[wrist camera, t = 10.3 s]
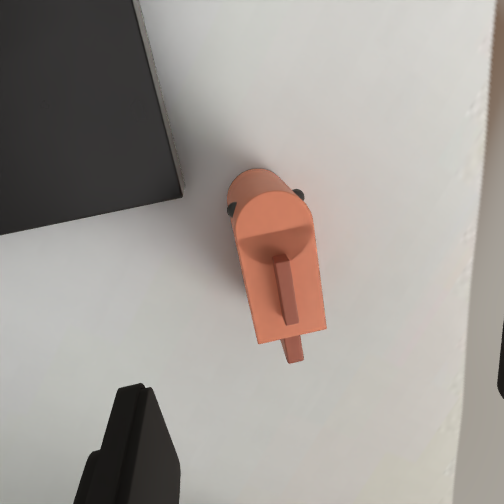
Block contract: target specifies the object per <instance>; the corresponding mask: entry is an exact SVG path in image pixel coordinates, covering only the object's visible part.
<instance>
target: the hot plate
mask: <svg viewBox="0 0 504 504" xmlns="http://www.w3.org/2000/svg"><path fill="white" fill-rule="evenodd" d="M184 189H185V182H184V178H183V174H182V170H181V166H180V162H179V158H178V154H177V150H176V146H175V142H174V138H173V134H172V130H171V127H170V123H169V119H168V115H167V111H166V107H165V103H164V99H163V95H162V91H161V87H160V83H159V79H158V75H157V71H156V67H155V63H154V59H153V55H152V51H151V47H150V43H149V39H148V35H147V31H146V27H145V23H144V19H143V15H142V11H141V8H140V4H139V0H0V235H4V234H9V233H14V232H19V231H24V230H28V229H33V228H38V227H43V226H48V225H53V224H57V223H62V222H67V221H72V220H77V219H81V218H86V217H91V216H96V215H101V214H105V213H110V212H115V211H120V210H125V209H129V208H134V207H139V206H144V205H149V204H153V203H158V202H163V201H168V200H173V199H178V198H182V197H183V194H184Z"/></svg>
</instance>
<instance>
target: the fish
mask: <svg viewBox="0 0 504 504" xmlns="http://www.w3.org/2000/svg"><path fill="white" fill-rule="evenodd" d="M227 204H228V208H227V213H228V215H229V216H230V219H231V223H232V228H233V233H234V237H235V242H236V247H237V251H238V256H239V261H240V265H241V270H242V275H243V279H244V284H245V289H246V293H247V298H248V302H249V306H250V311H251V315H252V320H253V324H254V328H255V333H256V337H257V341H258V344H262V343H267V342H271V341H276V340H281V343H282V347H283V350H284V353H285V356H286V359H287V362H288V363H289V364H290V363H295V362H299V361H303V360H304V356H303V350H302V344H301V337H300V335H302V334H306V333H311V332H315V331H320V330H324V329H326V328H327V327H326V319H325V311H324V303H323V295H322V287H321V279H320V272H319V264H318V256H317V248H316V240H315V232H314V224H313V218H312V215H311V212H310V210H309V208H308V206H307V205H306V204H305V203H304V194H303V192H302V191H301V190H299V189H294V190H291V189H290V188H289V187H288V186H287V185H286V184H285V183H284V182H283V181H282V180H281V179H280V178H279V177H278V176H277V175H276V174H274V173H273V172H271V171H268V170H265V169H251V170H247V171H245V172H243V173H241V174H240V175H239V176H237V177H236V178H235V179H234V181H233V182H232V184H231V185H230V188H229V190H228V194H227Z"/></svg>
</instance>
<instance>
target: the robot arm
mask: <svg viewBox="0 0 504 504" xmlns="http://www.w3.org/2000/svg"><path fill="white" fill-rule="evenodd" d="M497 387H498V390H499V392H500V394H501V396H502V397H503V399H504V323H503V332H502V343H501V352H500V363H499V372H498V382H497ZM180 476H181V472H180V463H179V459H178V456H177V453H176V451H175V448H174V445H173V443H172V440H171V437H170V434H169V432H168V429H167V426H166V424H165V421H164V418H163V416H162V413H161V410H160V407H159V405H158V402H157V399H156V397H155V394H154V391H153V389H152V388H151V387H148V388H145V386H144V385H143V384H142V383H139V384H135V385H130V386H126V387H121V388H119V389H118V391H117V393H116V397H115V400H114V404H113V407H112V411H111V414H110V418H109V421H108V424H107V428H106V431H105V435H104V438H103V442H102V445H101V449H100V450H97V451H93V452H92V453H91V454H90V455H89V457H88V459H87V462H86V465H85V468H84V471H83V474H82V477H81V480H80V484H79V487H78V490H77V493H76V496H75V499H74V503H73V504H179V493H180Z"/></svg>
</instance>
